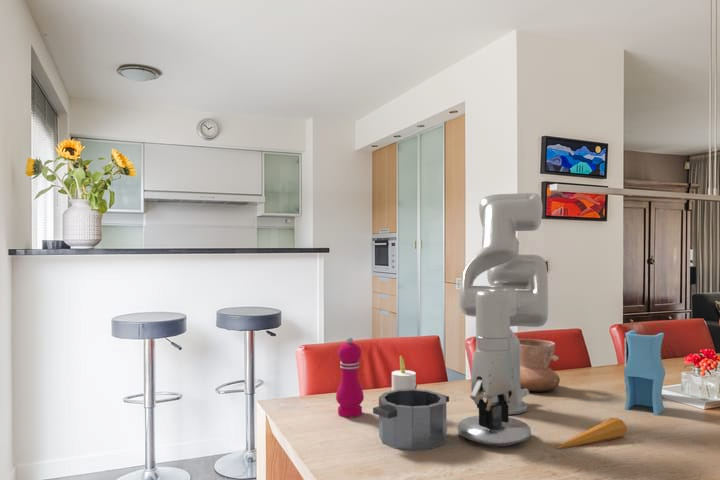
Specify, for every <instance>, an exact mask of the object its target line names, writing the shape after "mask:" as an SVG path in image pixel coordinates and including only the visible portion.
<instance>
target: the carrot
mask: <svg viewBox="0 0 720 480" xmlns="http://www.w3.org/2000/svg"><path fill="white" fill-rule="evenodd" d="M627 432H628V431H627V425H626V423H625V422H624V421H623V419H620V418H618V417H610V418H608V419H606V420H604V421H602V422H601V423H599V424H597V425H594V426H593V427H591V428H589V429H587V430H586V431H583V432H581V433H579V434H577V435H576V436H573V437H572V438H571V439H568V440H567V441H565V442H564V443H562V444H561V445H559V446H557V447H556V448H555V449H564V448H570V447H571V448H572V447H577V446H578V447H579V446H584V445H589V444H593V443H600V442H605V441H610V440H615V439H620V438H621V437H623V436H624V435H625V434H626V433H627Z"/></svg>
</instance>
